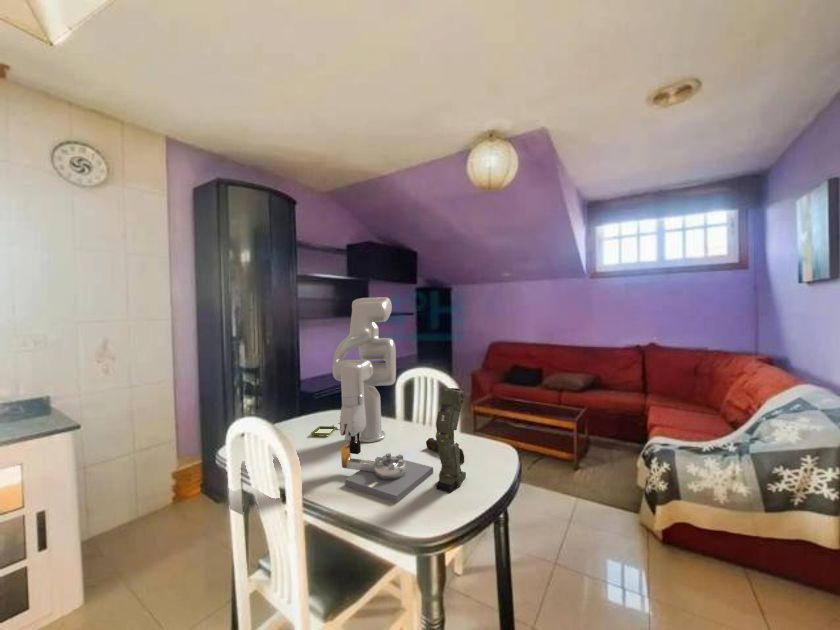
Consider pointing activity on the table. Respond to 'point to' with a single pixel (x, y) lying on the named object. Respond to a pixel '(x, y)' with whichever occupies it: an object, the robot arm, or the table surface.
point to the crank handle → (376, 465)
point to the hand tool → (433, 445)
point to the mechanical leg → (449, 440)
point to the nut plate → (390, 482)
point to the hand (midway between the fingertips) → (355, 452)
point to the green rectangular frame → (323, 428)
